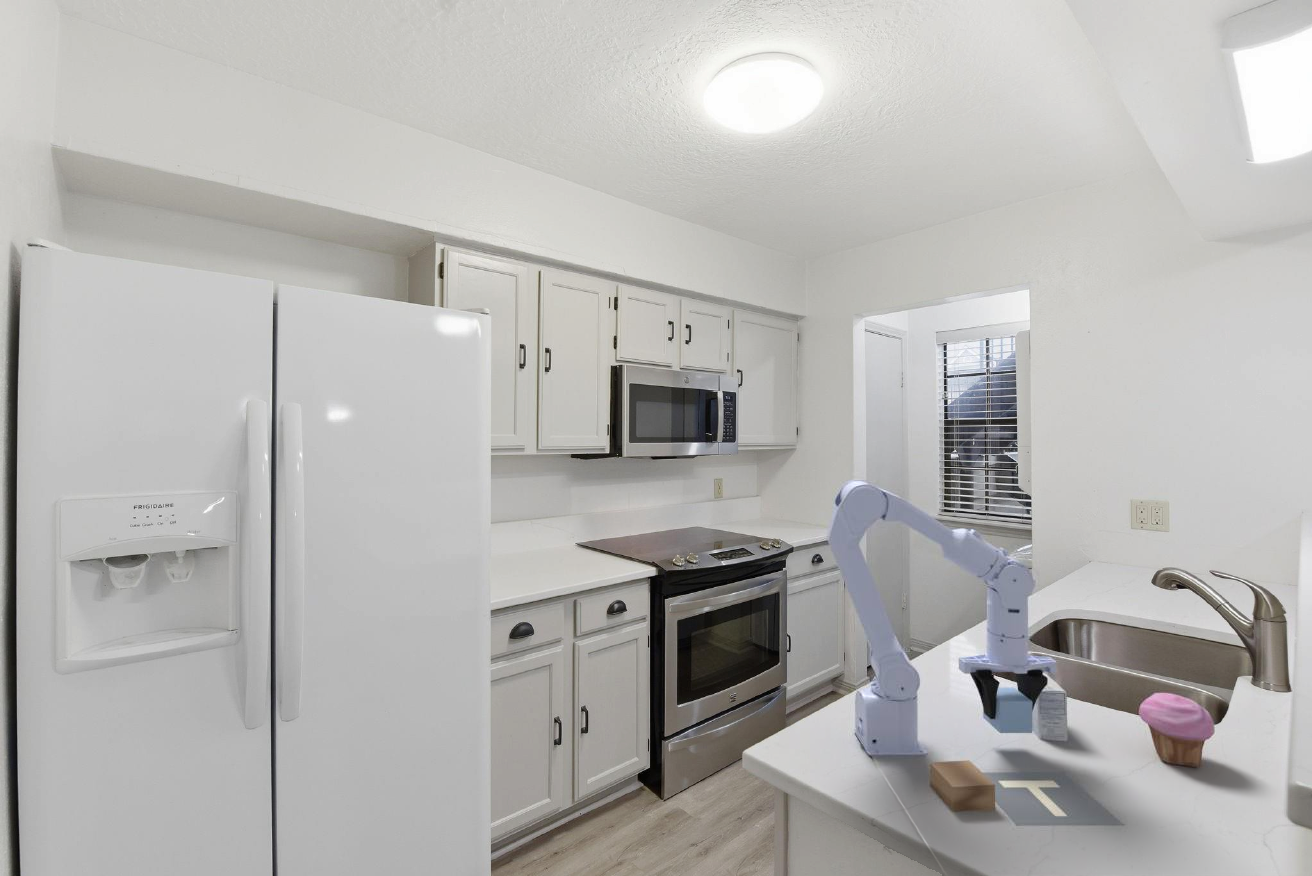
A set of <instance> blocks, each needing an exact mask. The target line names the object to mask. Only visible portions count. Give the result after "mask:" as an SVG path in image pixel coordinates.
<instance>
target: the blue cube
mask: <svg viewBox="0 0 1312 876" xmlns="http://www.w3.org/2000/svg"><path fill="white" fill-rule="evenodd" d="M982 713H983V715H982V717H983V719H984V720H985V721H986V722H987V723H988V724H990V725H991V726H992V728H993V729H995V730H996V732H998V733H1000V734H1033V731H1032V701H1031V700H1030V699H1029V698H1027V697H1026V696H1025V695H1023V694H1022V693H1021V692H1019V691H1018V688H1016V687H1014V686H1013V687H1005V686H1004V687H1003V686H1002V687H998V690H997V696H996V716H995V719H990V718H989V717H988V716H987V715H985V714H984V709H983V708H982Z"/></svg>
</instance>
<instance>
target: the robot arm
mask: <svg viewBox="0 0 1312 876" xmlns="http://www.w3.org/2000/svg"><path fill="white" fill-rule="evenodd" d="M832 507H833V508H832V512H831V516H830V521H829V526H828V530H827V534H826V537H827V542H828V544H829V547H830V550H831V552H832V555H833V557H834V560H835V561H836V565H837V567H838V569H839V572H840V574H841V577H842V580H843V582H844V585H845V587H846V590H847V593H848V595H849V598H850V600H851V602H852V605H853V607H854V610H855V612H856V615H857V617H858V620H859V623H860V625H861V628H862V630H863V632H864V634H865V639H866V640H867V643H868V645H869V650H870V652H869V662H870V665H871V668H872V669H873V671H874V673H875V676H874V677H873V678H872V681H871V682H870V686H869V687H867V688H865V689H860V690H859V689H858V690H857V691H856V692H855V697H854V704H855V705H854V706H855V709H854V711H855V714H854V715H855V717H854V718H855V719H854V720H855V724H854V725H855V728H854V730H853V731H854V735H855V736H856V737H857V738H858V740H859V741H860V743H861V745H862V747H863V748H864V750H865V751H866V753H867V755H868V756H871V757H873V756H915V755H918V756H920V755H921V756H923V755H924V756H926V755H928V754H929V752H928V751H927V749H926V748H925V747H924V746H923V744H922V743H921V742H920V741H919V736H918V735H919V733H918V732H919V731H918V730H919V727H918V723H919V722H918V719H919V717H918V711H919V710H918V691H919V689H920V685H921V677H920V674H919V672H918V671H917V669H916V668H915V666H914V665H913V664H912V661H911V660H910V658H909V656H908V654H907V653H908V652H906V650H905V649H904V648H903V647H902V646H901V645H900V642H899V640H898V638H897V636H896V634H895V631H894V629H893V627H892V624H891V622H890V619H889V617H888V616H889V615H888V614H887V612H886V609H885V605H884V604H883V602H882V599H881V596H880V594H879V591H878V589H877V586H876V584H875V581H874V579H873V577H872V574H871V572H870V569H869V566H868V564H867V562H866V559H865V556H864V554H863V551H862V549H861V546H860V542H861V540H862V539H863V537H864V535H865V534H866V532H867V530H868V529H869V528H871V526H873V525H874V524H875V523H876V522H877V521H879V520H880V519H881V520H883V522H886V523H887V522H891V523H892V522H900V523H902V524H904V525H906V526H907V527H908V528H910V529H912V530H914V531H915V532H917V533H919V534H920V535H922V536H925V537H926V538H927V539H930V540H931V541H932V542H935V543H936V544H938V545H939V546H940V548H941V551H942V555H943V558H944V559H945V560H948V561H949V562H951V563H953V564H954V565H956V566H958V567H960V569H962V570H964V571H965V572H967V573H969V574H970V575H972V576H974V578H977V579H978V580H982V581H983V582H984V584H986V585H987V587H986V588H987V589H986V590H987V591H986V592H987V593H986V596H987V597H986V598H987V599H986V653H981V654H977V655H971V656H961V657H960V656H959V657H958V670H960V671H961V672H962V673H963V674H965V675H966V674H967V675H970V677H971V679H972V680H973V682H974V685H975V687H976V688H977V691H978V695H979V697H980V699H981V700H980V701H981V703H982V710H983V709H984V714H985V715H987V716H988V717H989V718H990V719H995V716H996V696H997V690H998V687H999V686H1000V684H1001V682H1000V681H999V680H998V679H996V678H995V675H994V674H993V673H1014V675H1015V679H1016V685H1017V690H1018V691H1019V692H1021V693H1022V694H1023V695H1025V696H1026V697H1027V698H1029V699H1030V700H1031V701H1032V712H1033V708H1034V706H1035V703H1036V701H1037V698H1038V696H1039V695H1040V693H1041V692H1042V690H1043V689H1044V688H1045V686H1046V685H1047V683H1048V678H1047V677H1046V676H1044V675H1043V673H1045V672H1047V673H1048V674H1057V671H1058V670H1057V669H1058V668H1057V664H1058V663H1057V661H1056V660H1054V659H1053V658H1052V657H1050V656H1038V655H1029V606H1028V605H1029V603H1028V602H1029V599H1028V597H1029V595H1030V594H1032V592H1033V591H1034V589H1035V587H1036V579H1034V578H1033V575H1032V574H1033V573H1032V572H1031V571H1030V569H1029V567H1027V565H1025V564H1024V563H1022V562H1020V561H1018V560H1017V559H1016V558H1015V559H1014V558H1013V557H1011V556H1010V554H1008V553H1009V552H1008V550H1006V549H1005V548H1002V547H999V548H997V547H995V546H994V545H992V544H991V543H989V542H987V541H986V540H984V539H983V538H981V537H982V534H981V533H980V532H978V531H977V530H975V529H970V530H968V529H966V528H957V529H956V528H955V529H951V528H949V527H947V526H946V525H945V524H943V523H941V522H940V521H939V520H936V519H935V518H934V517H932V516H930V515H929V514H928V513H926V512H924V511H923V510H921V509H920V508H919V507H917V506H916V505H914V504H912V503H911V502H909V501H908V500H907V499H904V498H903V497H902V496H901V497H900V496H899V495H897V494H894V493H893V492H890V491H888V490H886V489H884V488H880V487H879V486H875V485H872V483H870V482H869V481H866V480H865V479H858V478H857V479H852V480H849V481H847V482H846V483H845V484H843V486H842V487H841V488H840V490H839V491H838V493H837V494H836V496H835V497H834V499H833V506H832Z"/></svg>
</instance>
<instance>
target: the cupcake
mask: <svg viewBox="0 0 1312 876" xmlns="http://www.w3.org/2000/svg"><path fill="white" fill-rule="evenodd" d="M1138 709H1139V710H1138V715H1139V717H1140V719H1141V720H1142V721H1143V722H1145V724H1147V726H1148V728H1149V731H1150V735H1151V739H1152V743H1153V746H1154V749H1155V751H1156V754H1157V756H1158V757H1159V759H1160V760H1162V762H1165V763H1167V764H1175V765H1181V766H1186V767H1190V768H1191V767H1192V768H1199V767H1201V764H1202V757H1203V747H1204V745H1205V742H1206V741H1207V740H1209V739H1210V738H1212V736H1213V735H1214V734H1215V723H1214V719H1213V717H1212V716H1211V714H1210V712H1209V710H1207V709H1205V708H1204V707H1202V705H1200V704H1198V702H1197V701H1194V700H1192V699H1190V698H1188V697H1185V696H1182V695H1178V694H1174V693H1170V692H1155V693H1153V694H1152V695H1150V696H1149V697H1147V698H1145V700H1144V701H1143V702H1141V704H1140V706H1139V708H1138Z"/></svg>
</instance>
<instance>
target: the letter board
mask: <svg viewBox="0 0 1312 876" xmlns="http://www.w3.org/2000/svg"><path fill="white" fill-rule="evenodd" d="M981 772H982V771H981ZM982 773H983V774H984V775H985V776H986V777H987V778H989V779H990V780H991V781H992V782H993V783H994V784H995V804H997V805H998V806H999V807H1000V809H1002V811H1003V812H1004V813H1005V815H1007V817H1008V818H1009V819H1010V821H1012V822H1013V824H1014V825H1015V826H1018V827H1019V826H1020V827H1021V826H1022V827H1023V826H1026V827H1028V826H1125V824H1124V823H1123V822H1122V821H1121V820H1119V819H1118V818H1117V817H1116V816H1115V815H1114V814H1113V813H1111V811H1110V810H1108V809H1107V808H1106V807H1105V806H1103V805H1102V804H1101V803H1100V802H1099V801H1098V800H1097V799H1096V798H1094V797H1093V796H1092V795H1091V794H1090V793H1088V792H1087V790H1085V789H1084V788H1083V787H1082V786H1081V785H1079V784H1078V783H1077V782H1076V781H1075V780H1073V779H1072V778H1071V777H1070V776H1069V775H1068V774H1067V773H1065V772H1064V771H1027V772H1025V771H1020V772H1016V771H1013V772H1012V771H1011V772H1007V771H1005V772H1004V771H1003V772H993V771H992V772H990V771H989V772H984V771H983V772H982Z"/></svg>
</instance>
